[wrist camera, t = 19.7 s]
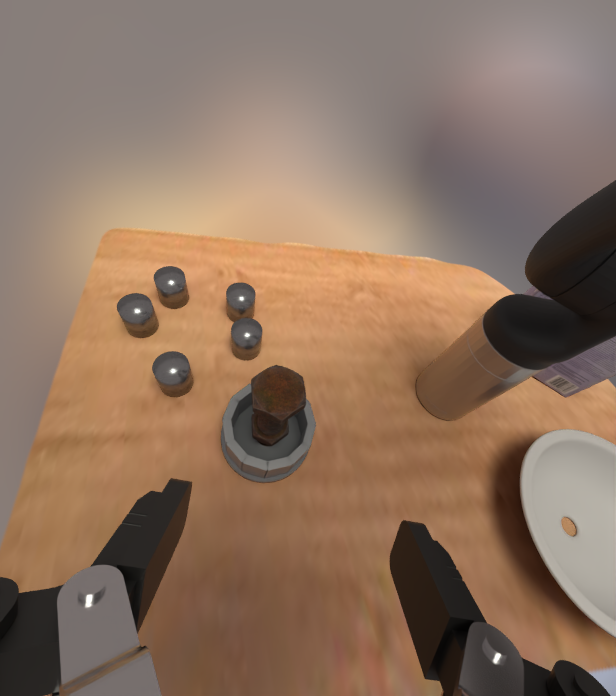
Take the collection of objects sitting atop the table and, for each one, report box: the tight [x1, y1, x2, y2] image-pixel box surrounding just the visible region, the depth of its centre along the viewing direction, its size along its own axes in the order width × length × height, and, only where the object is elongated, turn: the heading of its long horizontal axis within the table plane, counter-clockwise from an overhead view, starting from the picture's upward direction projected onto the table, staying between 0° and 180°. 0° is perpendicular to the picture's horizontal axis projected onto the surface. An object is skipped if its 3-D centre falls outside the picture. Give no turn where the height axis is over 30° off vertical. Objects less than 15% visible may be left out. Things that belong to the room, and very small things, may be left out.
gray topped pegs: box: [117, 266, 262, 397], centre depth 49 cm, size 19×19×5 cm
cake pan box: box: [524, 286, 616, 397], centre depth 53 cm, size 19×5×18 cm, turn 54°
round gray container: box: [221, 384, 316, 483], centre depth 41 cm, size 12×12×6 cm
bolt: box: [251, 365, 306, 446], centre depth 37 cm, size 6×5×15 cm
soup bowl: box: [520, 429, 616, 638], centre depth 43 cm, size 24×24×7 cm
